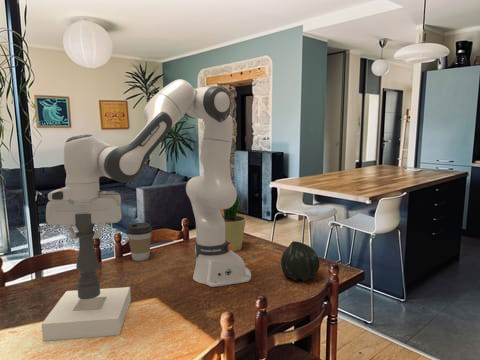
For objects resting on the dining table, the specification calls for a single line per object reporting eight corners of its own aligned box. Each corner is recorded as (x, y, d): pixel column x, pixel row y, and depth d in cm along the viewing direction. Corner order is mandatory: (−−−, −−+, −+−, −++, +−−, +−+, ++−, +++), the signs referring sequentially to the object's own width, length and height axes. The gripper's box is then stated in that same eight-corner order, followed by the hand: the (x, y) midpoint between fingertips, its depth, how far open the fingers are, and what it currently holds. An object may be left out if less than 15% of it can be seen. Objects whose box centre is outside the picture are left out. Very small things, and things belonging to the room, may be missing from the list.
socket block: (130, 301, 120) (130, 287, 119) (119, 335, 100) (118, 318, 99) (67, 305, 117) (66, 290, 116) (43, 341, 97) (41, 323, 97)
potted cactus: (250, 244, 178) (250, 185, 173) (239, 254, 163) (239, 190, 159) (221, 241, 183) (221, 183, 179) (208, 250, 169) (207, 188, 164)
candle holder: (92, 300, 104) (87, 215, 100) (73, 298, 105) (68, 214, 102) (104, 291, 110) (100, 211, 106) (86, 289, 111) (81, 210, 108)
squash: (333, 265, 137) (311, 231, 142) (310, 278, 126) (287, 241, 131) (309, 280, 146) (289, 248, 151) (286, 293, 135) (266, 258, 140)
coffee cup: (130, 254, 165) (129, 222, 163) (155, 253, 166) (154, 221, 164) (124, 263, 154) (123, 229, 151) (151, 262, 155) (150, 228, 152)
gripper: (122, 188, 108) (124, 233, 110) (50, 190, 105) (53, 236, 107) (118, 192, 101) (120, 239, 103) (41, 194, 99) (45, 243, 101)
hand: (86, 238), depth 105 cm, fingers closed on candle holder, 5 cm apart
